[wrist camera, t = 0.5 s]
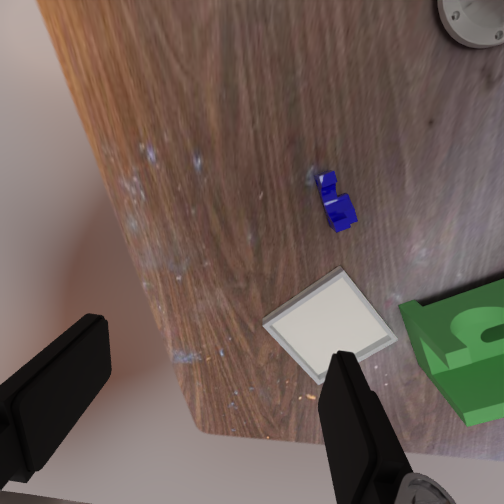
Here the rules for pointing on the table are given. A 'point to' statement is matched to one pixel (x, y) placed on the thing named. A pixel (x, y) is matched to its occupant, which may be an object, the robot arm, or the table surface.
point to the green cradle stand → (463, 349)
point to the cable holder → (335, 202)
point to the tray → (328, 324)
